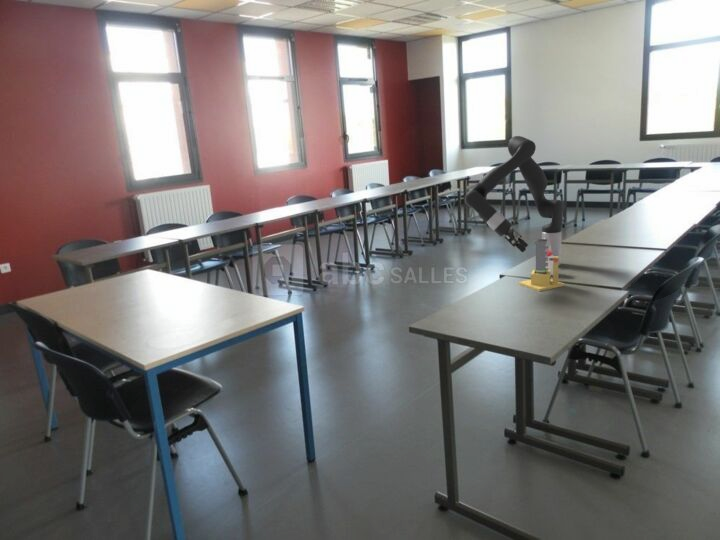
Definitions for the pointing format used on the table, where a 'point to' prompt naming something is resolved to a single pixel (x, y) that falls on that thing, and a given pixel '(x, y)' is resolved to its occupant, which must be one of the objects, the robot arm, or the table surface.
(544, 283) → the stand base
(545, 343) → the table surface
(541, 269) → the column
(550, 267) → the pill bottle
